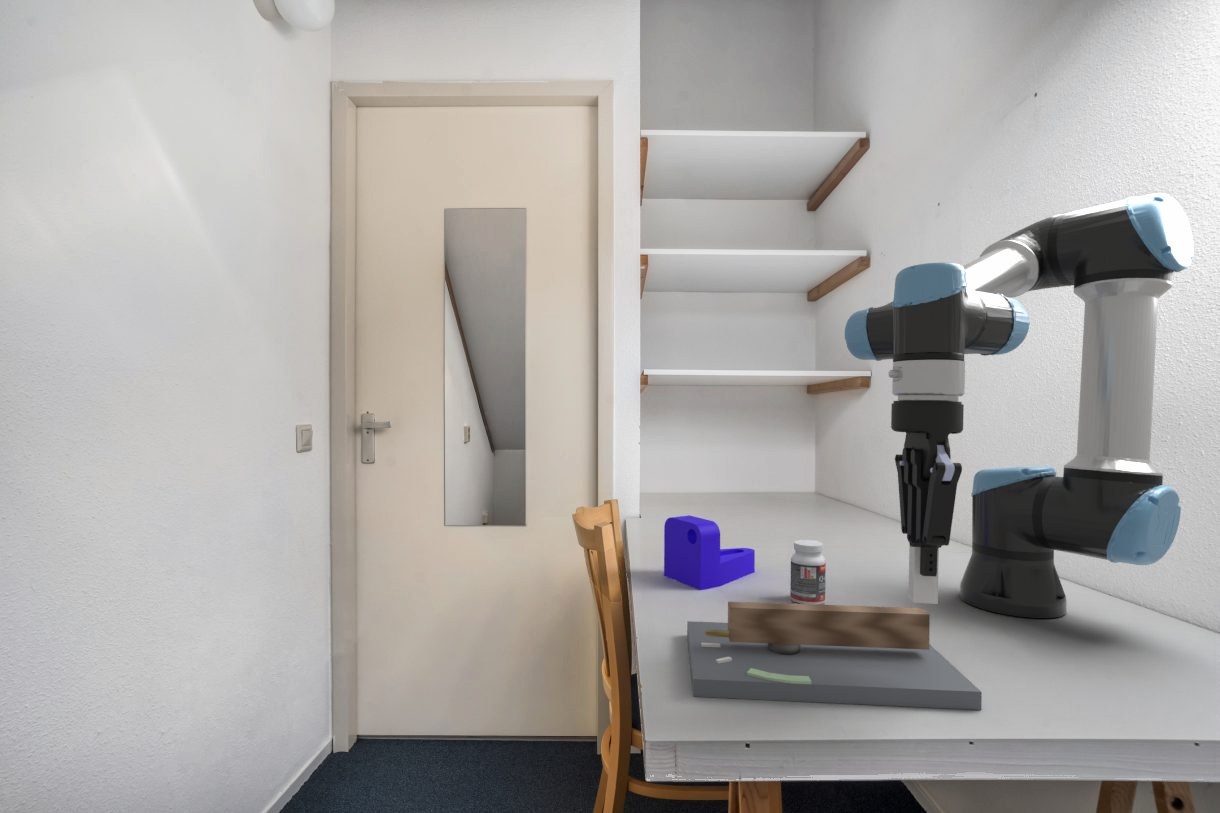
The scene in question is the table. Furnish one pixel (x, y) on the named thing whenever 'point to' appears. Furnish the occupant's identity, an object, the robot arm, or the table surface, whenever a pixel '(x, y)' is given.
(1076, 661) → the table surface
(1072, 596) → the table surface
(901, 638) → the brown wooden bar
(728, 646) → the plate
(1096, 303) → the robot arm
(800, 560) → the pill bottle
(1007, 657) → the table surface
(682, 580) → the bracket
